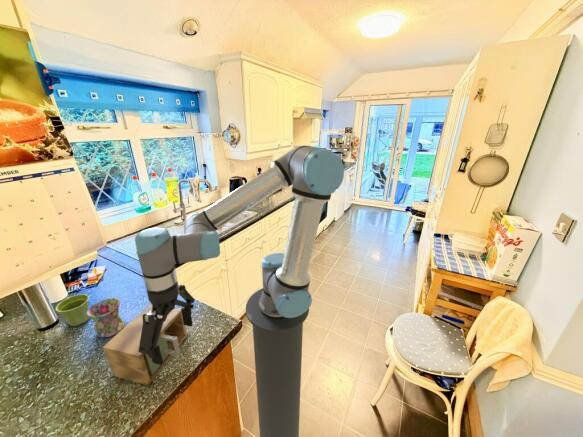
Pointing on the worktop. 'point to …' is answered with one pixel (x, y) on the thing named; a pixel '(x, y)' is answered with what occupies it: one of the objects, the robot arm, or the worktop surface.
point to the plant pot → (74, 309)
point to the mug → (106, 317)
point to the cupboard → (126, 347)
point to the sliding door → (163, 351)
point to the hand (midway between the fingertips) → (174, 342)
